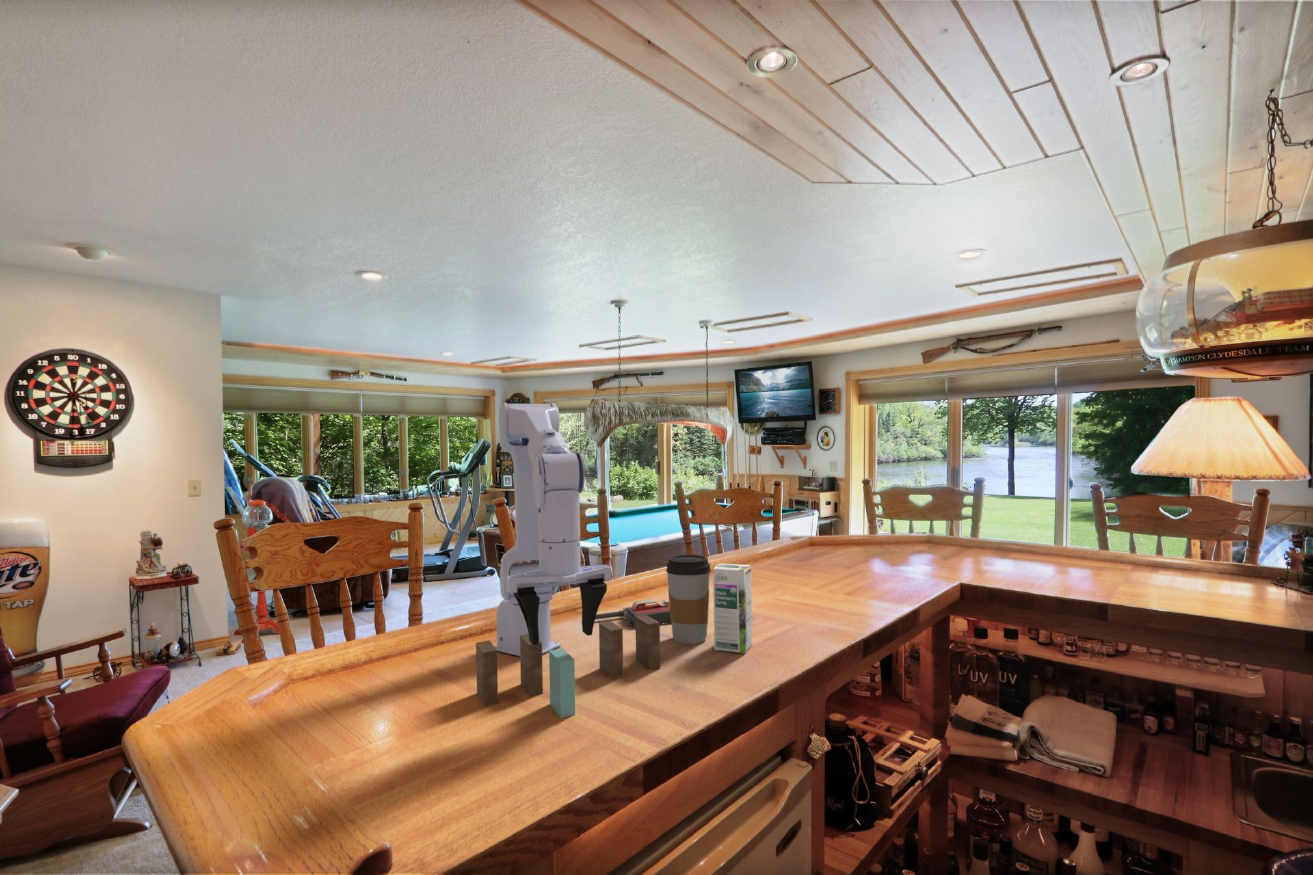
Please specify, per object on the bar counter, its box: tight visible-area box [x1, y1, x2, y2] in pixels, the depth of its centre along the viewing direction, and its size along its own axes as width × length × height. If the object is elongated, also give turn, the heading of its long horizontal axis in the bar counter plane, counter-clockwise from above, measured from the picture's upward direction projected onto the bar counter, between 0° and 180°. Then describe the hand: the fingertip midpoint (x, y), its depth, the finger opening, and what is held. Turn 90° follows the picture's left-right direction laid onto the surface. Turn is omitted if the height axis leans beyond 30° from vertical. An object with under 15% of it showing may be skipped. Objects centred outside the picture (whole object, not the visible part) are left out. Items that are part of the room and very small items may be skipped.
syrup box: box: [712, 563, 753, 655], centre depth 108 cm, size 6×6×14 cm
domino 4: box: [598, 620, 624, 680], centre depth 97 cm, size 2×5×8 cm, turn 27°
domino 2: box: [519, 634, 544, 697], centre depth 91 cm, size 2×5×8 cm, turn 27°
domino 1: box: [475, 639, 499, 707], centre depth 88 cm, size 2×5×8 cm, turn 27°
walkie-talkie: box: [595, 599, 672, 629], centre depth 125 cm, size 9×4×20 cm
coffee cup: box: [665, 554, 712, 645], centre depth 112 cm, size 8×8×15 cm
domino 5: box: [635, 615, 661, 672], centre depth 100 cm, size 2×5×8 cm, turn 27°
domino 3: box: [548, 648, 576, 719], centre depth 84 cm, size 2×5×8 cm, turn 27°
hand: (561, 637), depth 84 cm, fingers open, 7 cm apart
